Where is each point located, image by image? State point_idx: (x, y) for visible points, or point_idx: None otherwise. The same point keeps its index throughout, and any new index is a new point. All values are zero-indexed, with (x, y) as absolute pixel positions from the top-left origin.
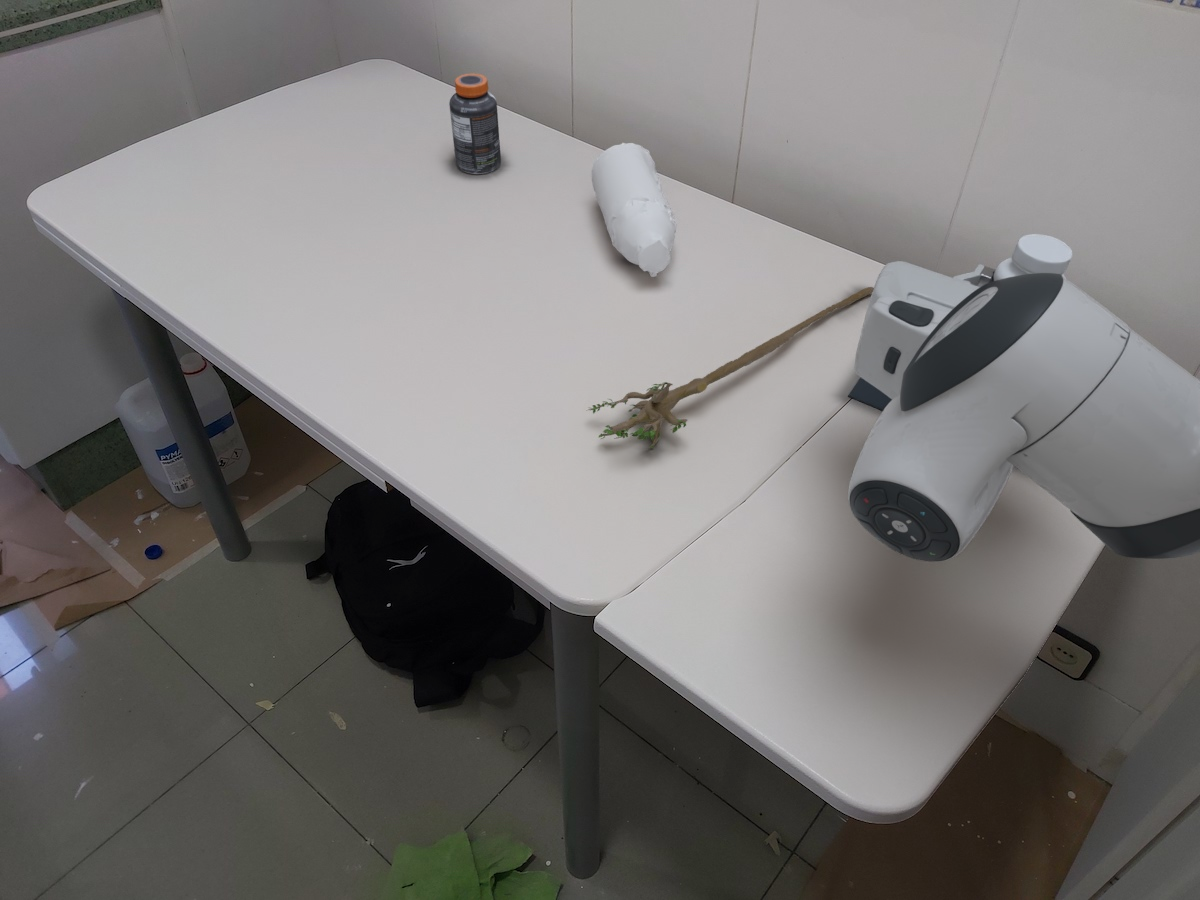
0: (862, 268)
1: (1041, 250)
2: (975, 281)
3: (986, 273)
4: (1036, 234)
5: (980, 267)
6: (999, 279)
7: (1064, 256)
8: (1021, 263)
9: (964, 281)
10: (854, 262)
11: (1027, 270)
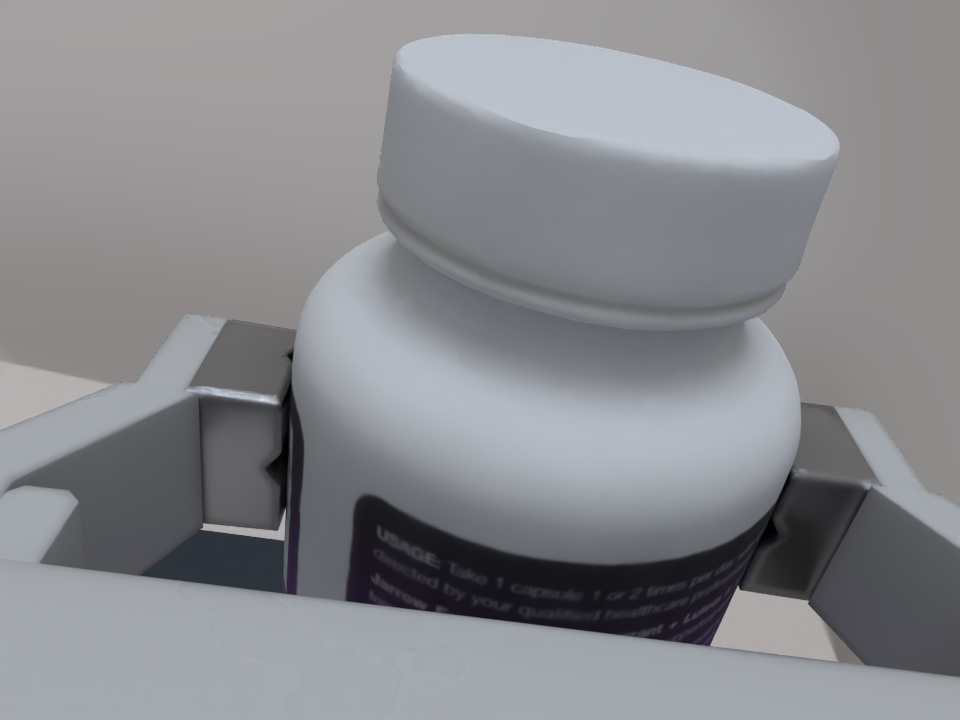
0: (47, 383)
1: (606, 98)
2: (166, 453)
3: (239, 373)
4: (501, 35)
5: (192, 336)
6: (333, 411)
7: (792, 124)
8: (481, 233)
9: (10, 503)
10: (26, 371)
11: (552, 290)
